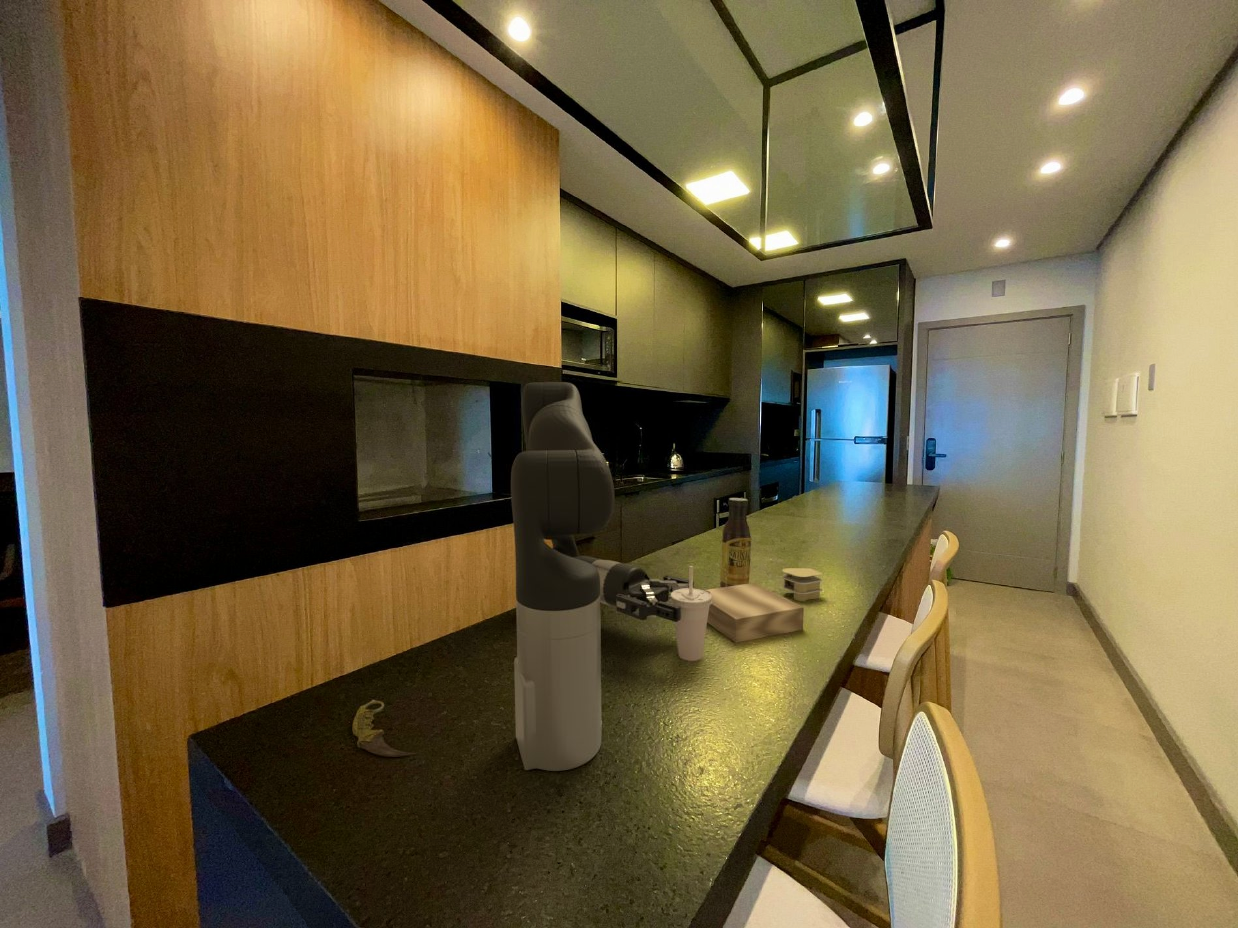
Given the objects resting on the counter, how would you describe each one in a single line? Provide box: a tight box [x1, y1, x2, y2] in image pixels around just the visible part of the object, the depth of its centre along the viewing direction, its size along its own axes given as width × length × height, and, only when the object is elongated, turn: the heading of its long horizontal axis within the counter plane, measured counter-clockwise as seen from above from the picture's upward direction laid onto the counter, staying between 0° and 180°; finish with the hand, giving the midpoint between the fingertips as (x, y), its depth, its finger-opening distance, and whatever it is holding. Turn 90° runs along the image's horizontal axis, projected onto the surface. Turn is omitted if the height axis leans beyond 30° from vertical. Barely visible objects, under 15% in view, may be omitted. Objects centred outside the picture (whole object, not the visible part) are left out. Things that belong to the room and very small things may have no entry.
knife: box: [351, 699, 423, 758], centre depth 57 cm, size 14×1×5 cm
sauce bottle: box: [719, 497, 752, 588], centre depth 104 cm, size 6×6×20 cm
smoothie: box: [670, 565, 712, 662], centre depth 75 cm, size 6×6×14 cm
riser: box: [705, 582, 805, 644], centre depth 88 cm, size 14×14×4 cm
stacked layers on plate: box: [781, 567, 823, 602], centre depth 100 cm, size 10×9×6 cm
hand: (695, 606), depth 74 cm, fingers open, 8 cm apart
